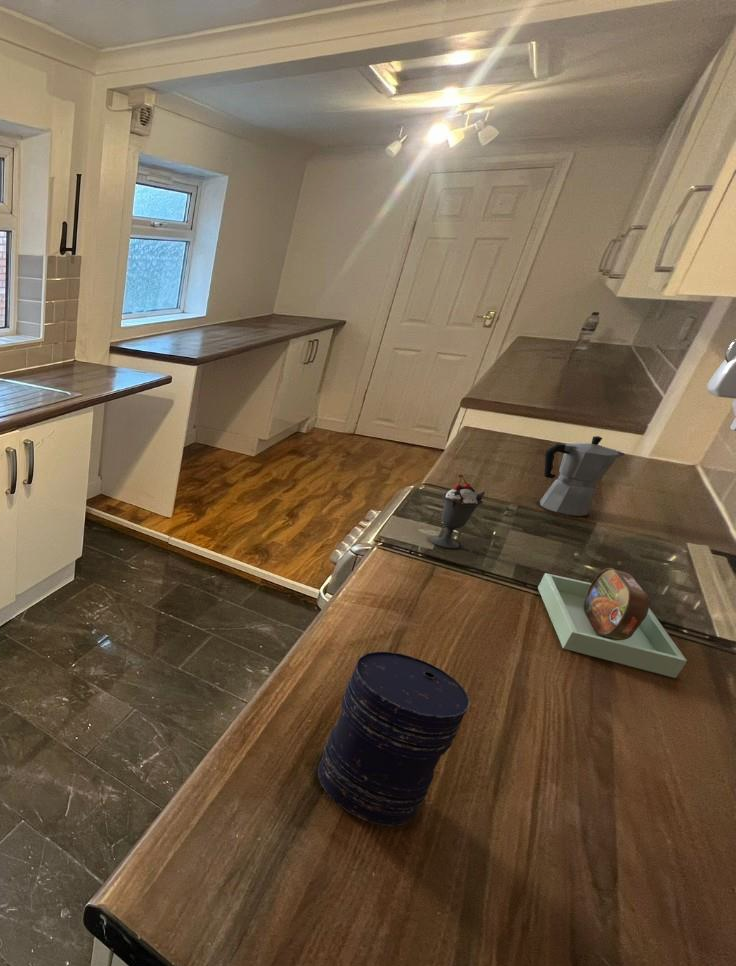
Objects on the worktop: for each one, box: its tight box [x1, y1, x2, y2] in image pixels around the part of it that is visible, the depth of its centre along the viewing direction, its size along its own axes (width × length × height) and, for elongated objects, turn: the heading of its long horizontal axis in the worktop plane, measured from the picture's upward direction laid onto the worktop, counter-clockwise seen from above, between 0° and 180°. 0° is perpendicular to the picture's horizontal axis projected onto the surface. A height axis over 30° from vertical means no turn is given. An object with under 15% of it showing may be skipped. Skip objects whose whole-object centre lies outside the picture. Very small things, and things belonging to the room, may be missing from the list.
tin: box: [584, 567, 650, 640], centre depth 92 cm, size 15×3×8 cm, turn 149°
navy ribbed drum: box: [317, 651, 470, 827], centre depth 60 cm, size 10×10×15 cm
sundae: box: [430, 474, 486, 550], centre depth 117 cm, size 7×7×15 cm
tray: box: [537, 572, 688, 679], centre depth 93 cm, size 13×22×3 cm, turn 149°
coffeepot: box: [539, 435, 625, 517], centre depth 136 cm, size 15×9×18 cm, turn 79°
